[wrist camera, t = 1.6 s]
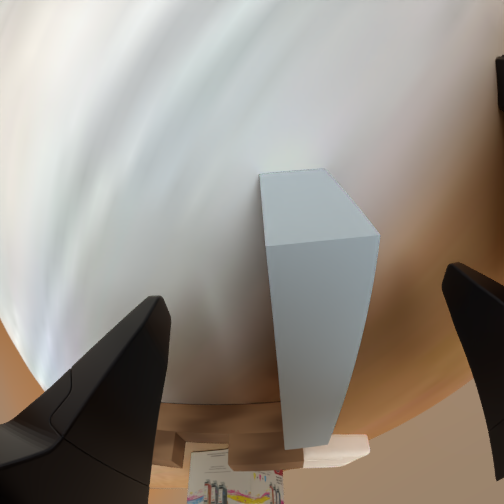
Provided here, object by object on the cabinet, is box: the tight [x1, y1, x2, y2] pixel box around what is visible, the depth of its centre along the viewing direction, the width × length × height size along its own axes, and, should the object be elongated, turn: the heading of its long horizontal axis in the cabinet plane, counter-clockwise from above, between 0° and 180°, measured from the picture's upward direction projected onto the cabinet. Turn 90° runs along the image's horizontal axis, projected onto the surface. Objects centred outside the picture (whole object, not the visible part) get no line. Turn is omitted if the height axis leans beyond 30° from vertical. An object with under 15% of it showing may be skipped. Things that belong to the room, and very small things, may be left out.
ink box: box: [187, 449, 284, 504], centre depth 22 cm, size 9×9×12 cm
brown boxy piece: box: [152, 402, 304, 471], centre depth 17 cm, size 14×2×5 cm, turn 97°
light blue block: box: [259, 169, 380, 450], centre depth 11 cm, size 2×13×5 cm, turn 7°
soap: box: [303, 434, 370, 468], centre depth 24 cm, size 9×6×3 cm, turn 65°
